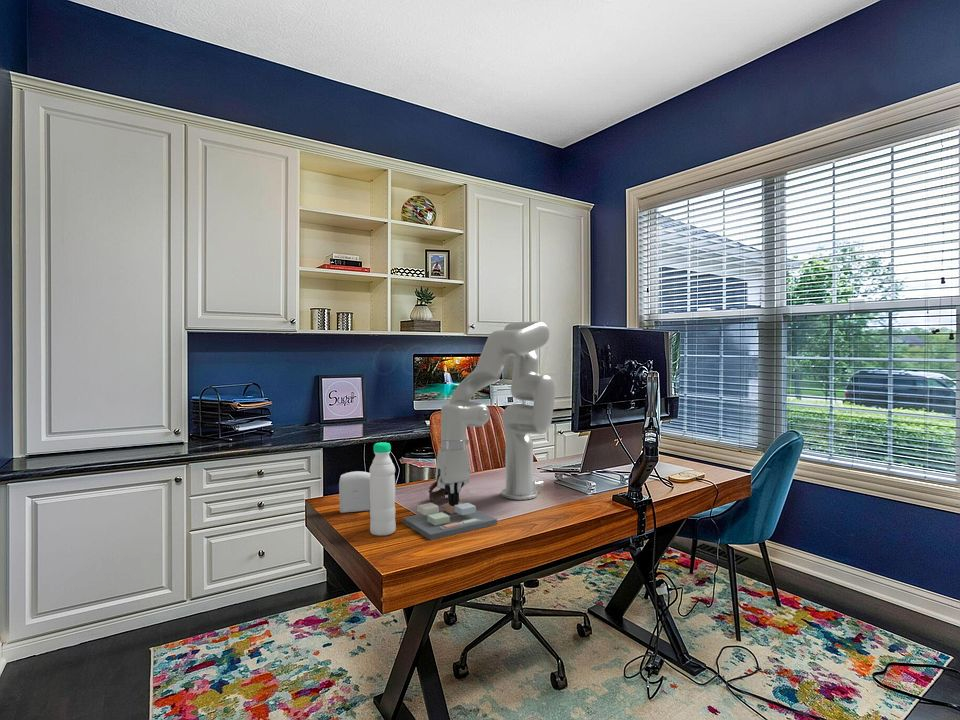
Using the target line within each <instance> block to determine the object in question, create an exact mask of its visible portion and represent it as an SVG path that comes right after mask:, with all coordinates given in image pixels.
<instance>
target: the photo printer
mask: <svg viewBox="0 0 960 720" xmlns="http://www.w3.org/2000/svg"><path fill="white" fill-rule="evenodd" d="M338 491H339V493H338V494H339V495H338V497H339V512H340V513H341V514H342V513H343V514H345V513H353V512H354V513H355V512H364V511H370V508H371V505H370V472H367V471H362V470H361V471H360V470H359V471H358V470H355V471H350V472H345V473H342V474H341V475H340V477H339V483H338Z"/></svg>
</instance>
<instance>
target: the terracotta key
mask: <svg viewBox="0 0 960 720" xmlns="http://www.w3.org/2000/svg"><path fill="white" fill-rule="evenodd" d="M459 504H462V503H460V501H459V502H458V505H459ZM443 509H444V511H446V512H448V513H450V514H453V513H456V512H454V506H451V505H449V503H444V504H443Z"/></svg>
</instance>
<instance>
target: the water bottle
mask: <svg viewBox="0 0 960 720" xmlns="http://www.w3.org/2000/svg"><path fill="white" fill-rule="evenodd" d="M391 450H392V446H391V444H390V442H384V441H383V442H376V443H374V444H373V454H374V455H375V456H374V457H373V459H372V463H371V465H370V467H369V473H370V505H371V508H370V510H369V517H370V520H369V521H370V522H369V524H370V525H369V531H370V534H371V535H374V536H376V537H377V536H379V537H384V536H385V537H386V536H389V535H390V536H391V535H392V534H393V533H395V532H396V529H397V527H396V526H397V525H396V505H395V504H396V477H395V473H396V467H395V464H394V463H393V460H392V458H391V455H390V453H391Z"/></svg>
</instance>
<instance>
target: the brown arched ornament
mask: <svg viewBox="0 0 960 720" xmlns="http://www.w3.org/2000/svg"><path fill="white" fill-rule="evenodd" d="M437 484H438V481H436V480H435V481H434V482H433V483H432V484H431V485H430V486H429V487H428V489H429V490H428V493H429V496H428V497H429V500H430V502H432V501H433V500H434V501H435V500H437V499H440V498H446V496H448V492H447V491H446V490H445V489H444V488H439V489H438V490H435V491H433V490H434V489H435V488H436V487H437Z"/></svg>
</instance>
